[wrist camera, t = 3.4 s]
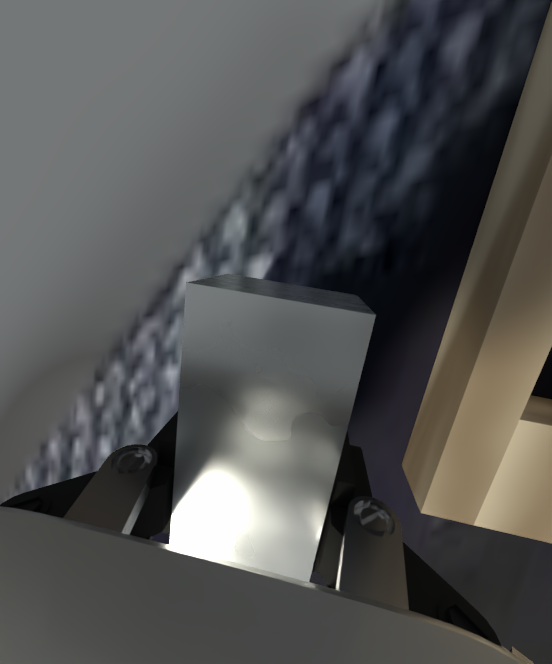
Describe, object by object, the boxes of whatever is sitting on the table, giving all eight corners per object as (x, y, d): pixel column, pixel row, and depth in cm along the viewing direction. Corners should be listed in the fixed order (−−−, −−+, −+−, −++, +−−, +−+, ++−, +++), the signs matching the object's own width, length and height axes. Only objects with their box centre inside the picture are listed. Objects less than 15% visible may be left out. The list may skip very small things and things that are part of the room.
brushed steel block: (343, 280, 13) (375, 315, 6) (299, 487, 17) (283, 683, 9) (259, 267, 14) (186, 282, 6) (232, 472, 17) (163, 648, 9)
